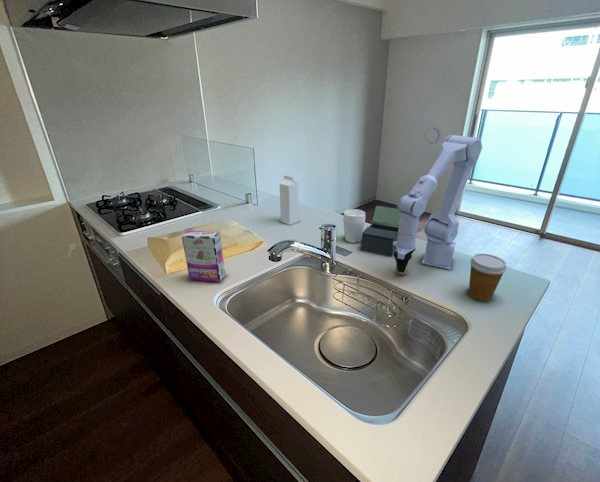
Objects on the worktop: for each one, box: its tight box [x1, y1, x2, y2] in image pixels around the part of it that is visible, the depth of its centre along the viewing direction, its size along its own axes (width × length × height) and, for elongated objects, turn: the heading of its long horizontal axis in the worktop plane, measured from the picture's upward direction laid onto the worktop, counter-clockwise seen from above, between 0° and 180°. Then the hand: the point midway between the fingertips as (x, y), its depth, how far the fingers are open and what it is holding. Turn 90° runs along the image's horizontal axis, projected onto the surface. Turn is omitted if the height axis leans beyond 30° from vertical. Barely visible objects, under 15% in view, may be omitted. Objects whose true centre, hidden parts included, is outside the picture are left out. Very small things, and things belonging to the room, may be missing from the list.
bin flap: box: [372, 205, 400, 227], centre depth 133 cm, size 7×12×1 cm
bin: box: [360, 222, 399, 257], centre depth 128 cm, size 14×12×7 cm
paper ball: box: [395, 265, 409, 276], centre depth 109 cm, size 4×4×4 cm
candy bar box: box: [181, 229, 226, 283], centre depth 106 cm, size 11×5×16 cm, turn 80°
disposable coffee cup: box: [468, 253, 508, 302], centre depth 96 cm, size 10×10×12 cm
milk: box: [279, 175, 299, 226], centre depth 150 cm, size 6×6×22 cm
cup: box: [342, 208, 367, 244], centre depth 133 cm, size 9×9×12 cm
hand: (402, 268), depth 109 cm, fingers closed on paper ball, 4 cm apart
